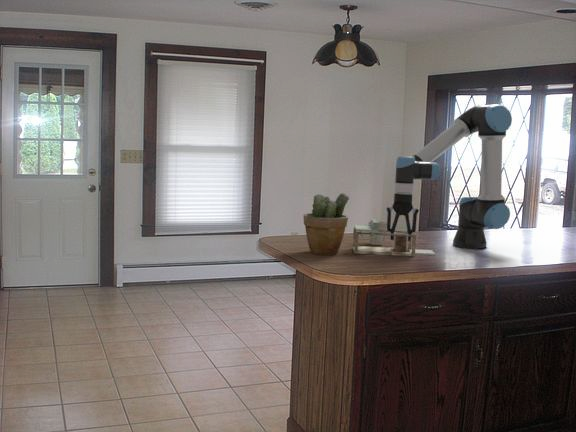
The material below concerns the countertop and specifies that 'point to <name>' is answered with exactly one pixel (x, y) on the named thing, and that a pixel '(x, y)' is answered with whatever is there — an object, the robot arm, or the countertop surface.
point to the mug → (376, 238)
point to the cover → (368, 227)
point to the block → (400, 244)
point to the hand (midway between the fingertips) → (399, 248)
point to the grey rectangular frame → (383, 250)
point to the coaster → (424, 252)
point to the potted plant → (326, 224)
